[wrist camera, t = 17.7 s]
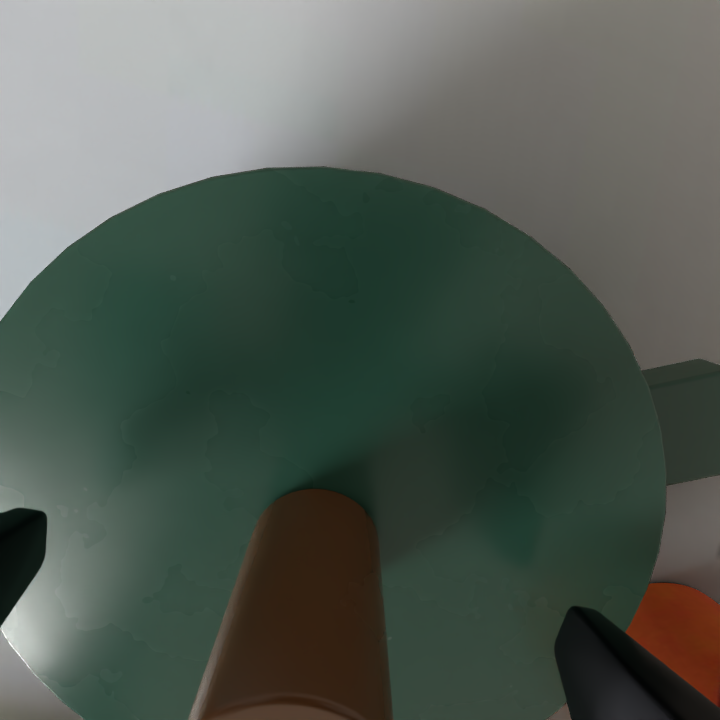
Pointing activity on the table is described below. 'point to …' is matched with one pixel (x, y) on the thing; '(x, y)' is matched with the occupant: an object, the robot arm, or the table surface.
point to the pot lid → (320, 457)
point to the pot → (688, 417)
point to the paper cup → (682, 634)
